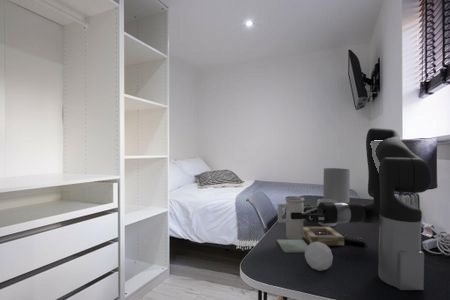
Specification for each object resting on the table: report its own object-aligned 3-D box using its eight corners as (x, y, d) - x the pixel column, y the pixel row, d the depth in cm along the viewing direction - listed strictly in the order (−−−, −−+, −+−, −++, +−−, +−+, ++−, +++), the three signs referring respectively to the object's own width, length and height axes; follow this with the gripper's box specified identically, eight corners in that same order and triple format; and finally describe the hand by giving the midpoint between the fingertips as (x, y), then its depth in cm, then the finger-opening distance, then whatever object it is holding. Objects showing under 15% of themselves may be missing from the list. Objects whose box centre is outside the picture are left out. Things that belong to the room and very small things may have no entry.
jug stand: (344, 245, 90) (344, 237, 90) (312, 245, 89) (312, 237, 89) (329, 233, 102) (329, 226, 102) (300, 233, 101) (300, 226, 101)
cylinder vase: (354, 218, 125) (355, 169, 125) (336, 220, 120) (337, 170, 120) (335, 212, 136) (336, 167, 136) (317, 214, 132) (318, 168, 132)
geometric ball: (310, 276, 72) (295, 251, 76) (330, 263, 75) (314, 239, 78) (322, 275, 66) (305, 247, 69) (344, 261, 69) (326, 234, 72)
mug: (335, 228, 108) (335, 203, 108) (314, 224, 113) (315, 201, 113) (339, 222, 118) (340, 199, 118) (320, 218, 123) (321, 197, 123)
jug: (307, 239, 85) (307, 199, 85) (280, 240, 85) (280, 200, 84) (300, 233, 92) (300, 196, 91) (275, 233, 91) (276, 196, 91)
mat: (313, 252, 83) (313, 250, 83) (284, 252, 83) (284, 250, 83) (302, 241, 93) (302, 239, 93) (276, 241, 93) (276, 239, 93)
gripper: (324, 198, 96) (282, 198, 95) (344, 207, 81) (294, 208, 81) (324, 217, 96) (282, 217, 95) (344, 229, 82) (294, 230, 81)
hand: (288, 213), depth 88 cm, fingers closed on jug, 6 cm apart
